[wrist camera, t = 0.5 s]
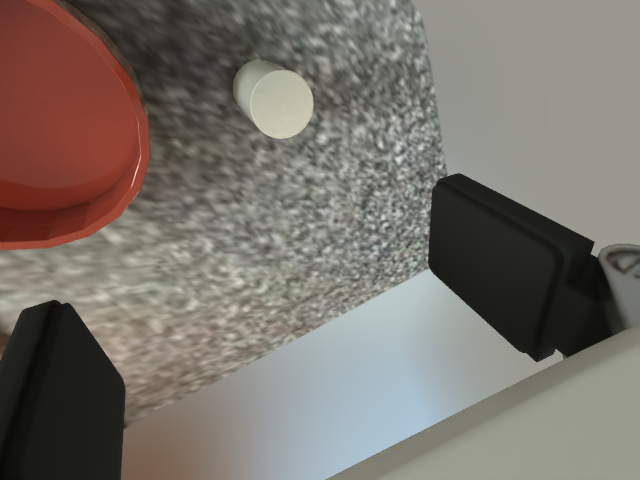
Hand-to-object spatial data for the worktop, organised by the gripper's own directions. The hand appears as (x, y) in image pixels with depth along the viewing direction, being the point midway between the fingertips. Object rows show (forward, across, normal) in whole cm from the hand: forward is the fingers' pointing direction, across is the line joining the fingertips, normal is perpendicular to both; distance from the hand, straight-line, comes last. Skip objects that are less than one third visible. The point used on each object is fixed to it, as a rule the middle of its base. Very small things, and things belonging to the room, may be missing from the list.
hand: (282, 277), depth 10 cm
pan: (+23, +11, -2) cm, 26 cm away
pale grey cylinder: (+23, -5, 0) cm, 24 cm away
